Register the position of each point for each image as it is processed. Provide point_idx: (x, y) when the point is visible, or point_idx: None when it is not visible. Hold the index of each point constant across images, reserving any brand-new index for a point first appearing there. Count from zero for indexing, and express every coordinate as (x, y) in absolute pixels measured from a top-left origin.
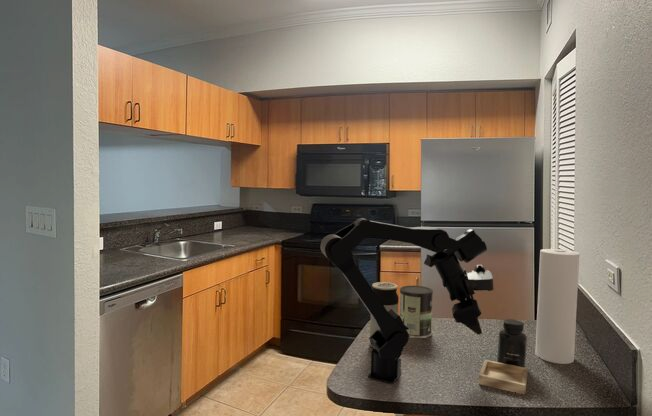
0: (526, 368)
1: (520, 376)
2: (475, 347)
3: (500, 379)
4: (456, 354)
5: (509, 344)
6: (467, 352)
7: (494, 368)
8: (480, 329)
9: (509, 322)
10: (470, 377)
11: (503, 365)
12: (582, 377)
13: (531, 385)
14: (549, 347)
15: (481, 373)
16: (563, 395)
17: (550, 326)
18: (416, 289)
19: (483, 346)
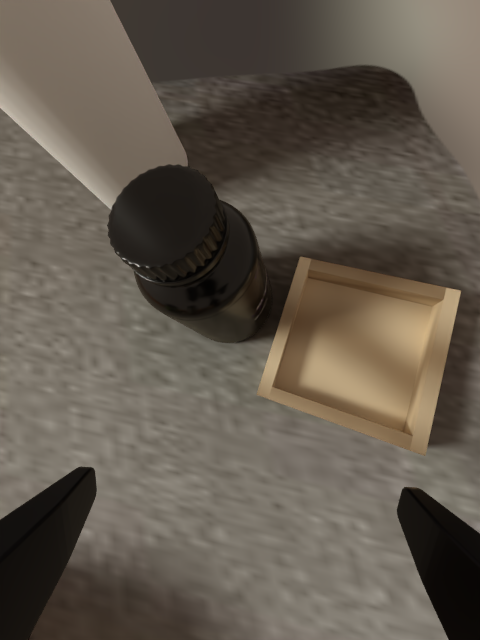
0: (302, 260)
1: (322, 289)
2: (99, 389)
3: (439, 373)
4: (163, 477)
5: (255, 287)
6: (142, 428)
7: (281, 363)
8: (467, 529)
9: (176, 238)
10: (358, 467)
11: (289, 332)
12: (265, 131)
13: (360, 268)
14: (157, 160)
15: (405, 441)
16: (402, 194)
17: (109, 86)
18: None
19: (89, 359)
